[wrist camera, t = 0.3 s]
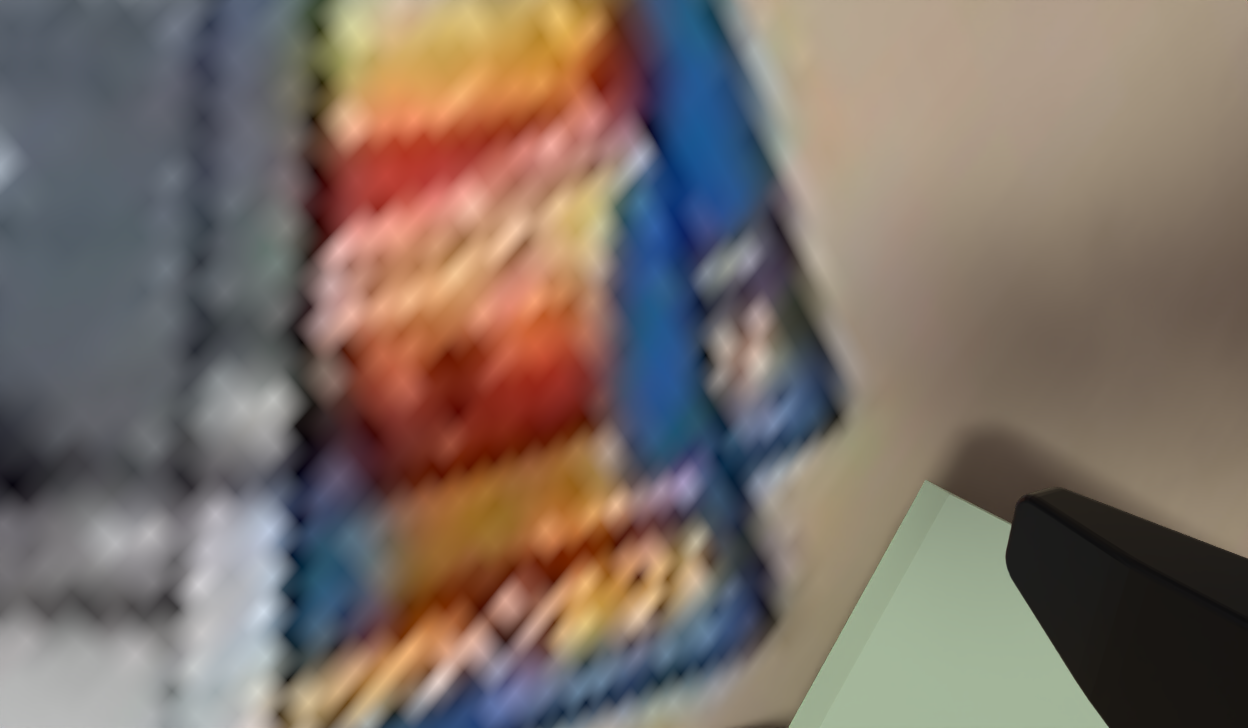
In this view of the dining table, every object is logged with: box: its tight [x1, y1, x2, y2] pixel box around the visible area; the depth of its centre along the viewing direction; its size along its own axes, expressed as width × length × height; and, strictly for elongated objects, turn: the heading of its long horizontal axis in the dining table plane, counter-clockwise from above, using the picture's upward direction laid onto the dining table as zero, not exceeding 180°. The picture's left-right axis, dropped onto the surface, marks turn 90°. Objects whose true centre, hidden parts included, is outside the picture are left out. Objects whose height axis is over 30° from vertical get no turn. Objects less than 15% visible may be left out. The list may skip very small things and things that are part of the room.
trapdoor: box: [789, 480, 1109, 728], centre depth 29 cm, size 9×12×1 cm
